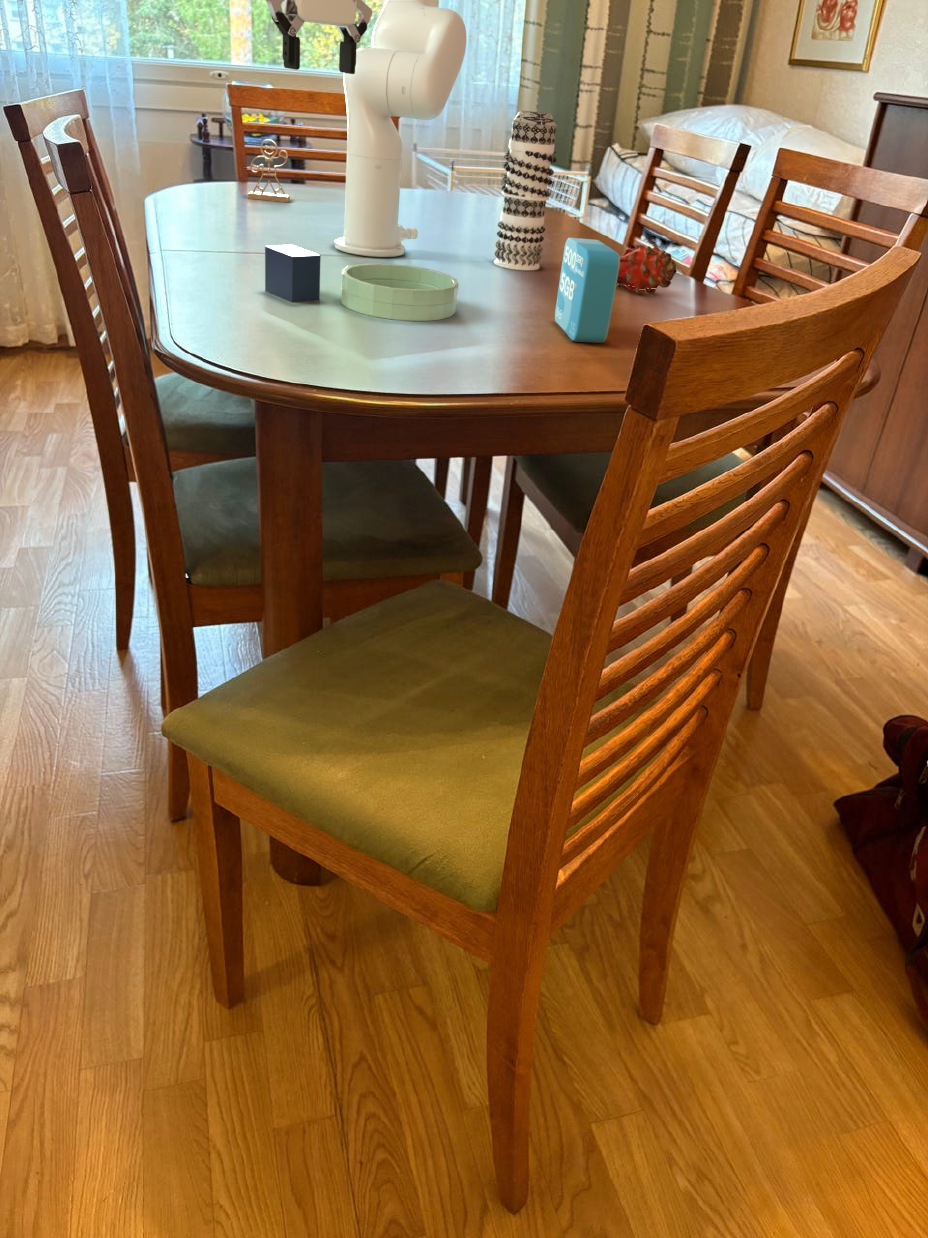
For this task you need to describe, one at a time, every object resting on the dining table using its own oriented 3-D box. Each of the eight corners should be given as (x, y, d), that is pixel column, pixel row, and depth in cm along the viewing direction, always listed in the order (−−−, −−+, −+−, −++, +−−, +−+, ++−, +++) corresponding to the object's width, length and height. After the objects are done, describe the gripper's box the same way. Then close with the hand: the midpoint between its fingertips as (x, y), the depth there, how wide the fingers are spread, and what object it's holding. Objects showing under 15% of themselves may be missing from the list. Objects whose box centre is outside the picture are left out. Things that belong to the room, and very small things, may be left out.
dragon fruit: (675, 306, 166) (605, 308, 168) (674, 269, 170) (605, 270, 171) (680, 270, 159) (607, 272, 160) (679, 232, 162) (607, 234, 163)
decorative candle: (548, 266, 178) (570, 115, 165) (530, 273, 171) (551, 115, 158) (503, 257, 181) (521, 108, 168) (484, 263, 174) (501, 108, 161)
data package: (553, 321, 141) (565, 235, 135) (582, 323, 142) (596, 237, 136) (574, 344, 131) (589, 252, 125) (606, 346, 132) (622, 254, 126)
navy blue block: (292, 291, 141) (292, 244, 137) (319, 302, 136) (320, 254, 133) (265, 293, 138) (264, 245, 134) (292, 305, 134) (292, 256, 130)
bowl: (406, 291, 148) (408, 261, 146) (478, 317, 138) (481, 285, 136) (318, 298, 138) (319, 266, 136) (388, 328, 128) (390, 293, 126)
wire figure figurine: (247, 198, 211) (246, 137, 205) (249, 195, 214) (249, 136, 208) (288, 202, 212) (289, 142, 206) (290, 199, 215) (290, 140, 209)
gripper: (357, -64, 138) (352, 72, 147) (252, -84, 128) (254, 64, 137) (389, -63, 134) (382, 77, 143) (283, -84, 123) (283, 69, 132)
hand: (319, 70), depth 140 cm, fingers open, 9 cm apart
